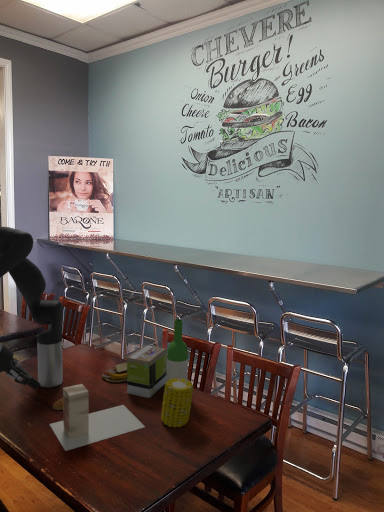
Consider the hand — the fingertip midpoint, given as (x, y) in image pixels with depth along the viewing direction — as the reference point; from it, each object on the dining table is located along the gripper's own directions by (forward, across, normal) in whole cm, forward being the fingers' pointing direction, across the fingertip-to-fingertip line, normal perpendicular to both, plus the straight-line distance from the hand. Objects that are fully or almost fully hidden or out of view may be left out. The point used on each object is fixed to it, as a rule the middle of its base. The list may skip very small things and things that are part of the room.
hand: (37, 386), depth 128 cm
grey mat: (+26, 0, 0) cm, 26 cm away
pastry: (+24, +18, +3) cm, 30 cm away
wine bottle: (+49, +5, -23) cm, 55 cm away
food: (+43, -10, -17) cm, 47 cm away
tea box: (+45, +17, -19) cm, 52 cm away
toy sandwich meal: (+42, +33, -15) cm, 55 cm away
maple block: (+21, 0, +4) cm, 21 cm away
